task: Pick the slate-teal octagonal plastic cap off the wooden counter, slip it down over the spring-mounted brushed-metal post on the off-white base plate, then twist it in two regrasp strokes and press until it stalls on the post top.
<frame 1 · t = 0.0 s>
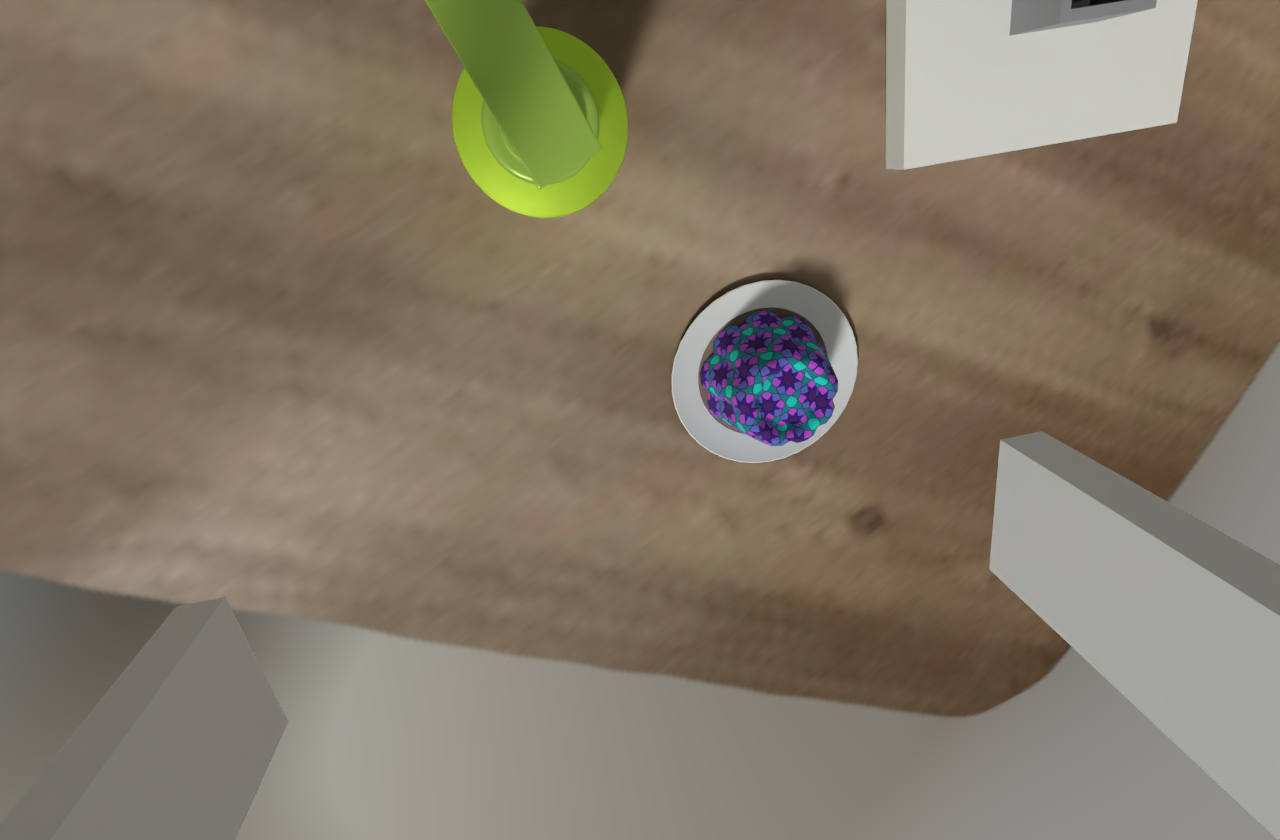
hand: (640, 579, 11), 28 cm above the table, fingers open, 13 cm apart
soap dispenser: (537, 126, 34), on the table
patterned brimmed hat: (761, 371, 41), on the table
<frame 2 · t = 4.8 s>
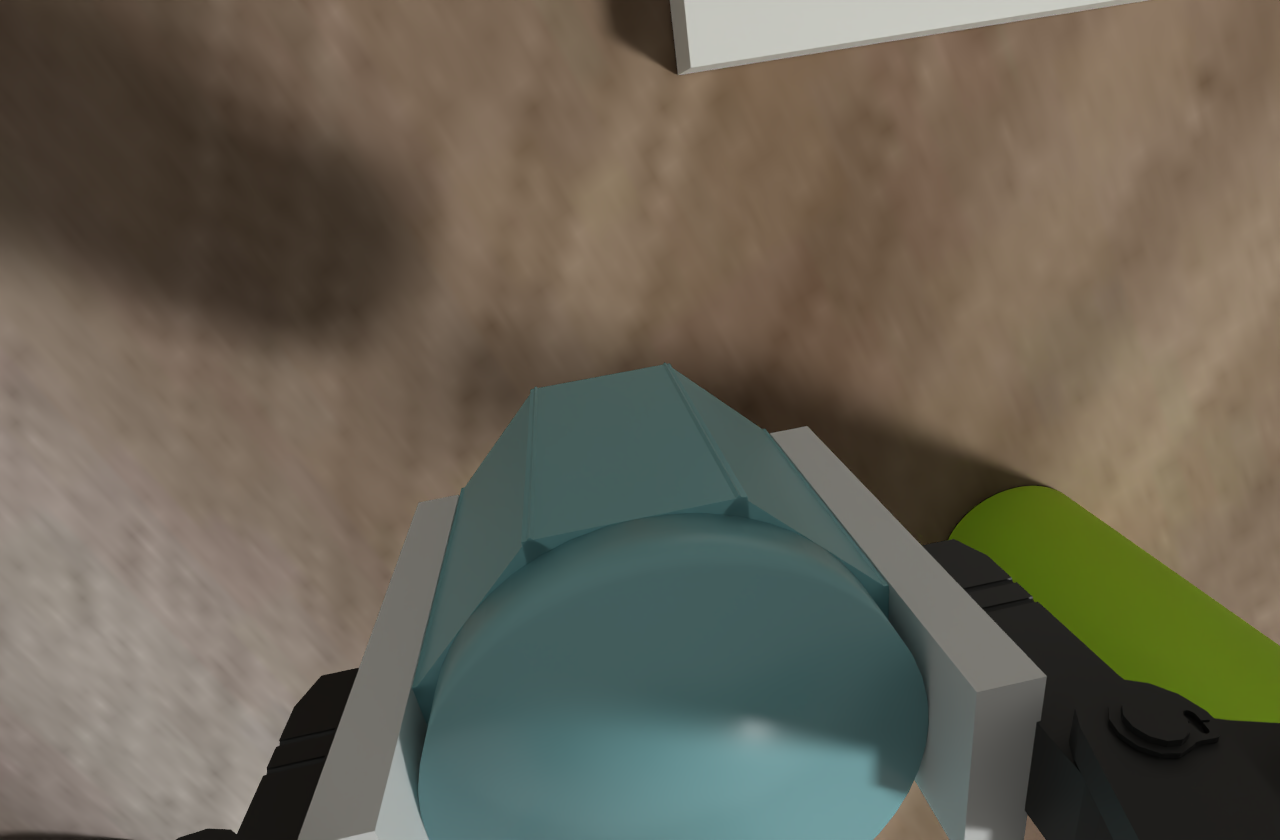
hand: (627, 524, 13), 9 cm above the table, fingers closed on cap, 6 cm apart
soap dispenser: (995, 551, 26), on the table
cap: (626, 514, 13), point 9 cm above the table, touching gripper
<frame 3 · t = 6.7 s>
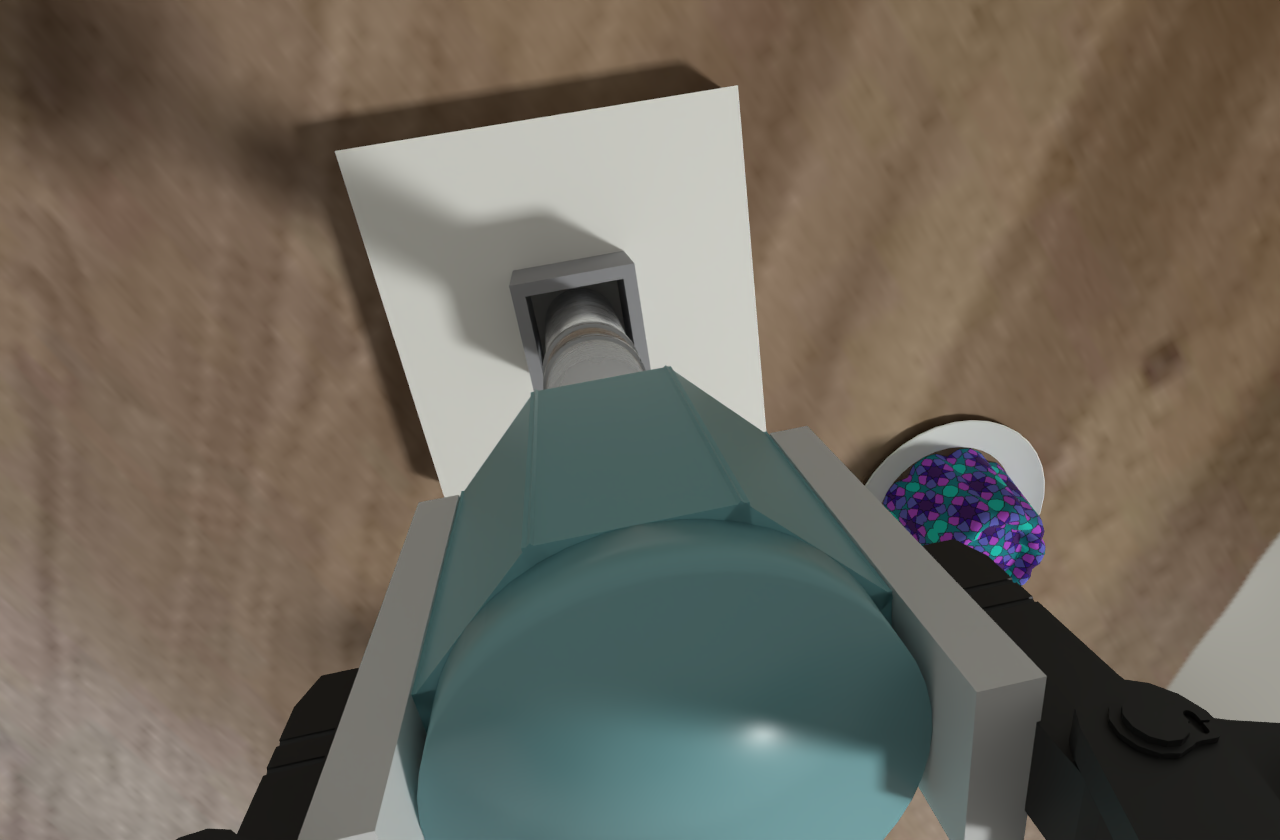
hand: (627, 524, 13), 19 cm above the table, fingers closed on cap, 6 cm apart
patterned brimmed hat: (939, 507, 38), on the table
post: (589, 357, 22), point 8 cm above the table, slide at 0.1 cm
post base: (576, 305, 30), on the table
cap: (626, 517, 13), point 19 cm above the table, touching gripper
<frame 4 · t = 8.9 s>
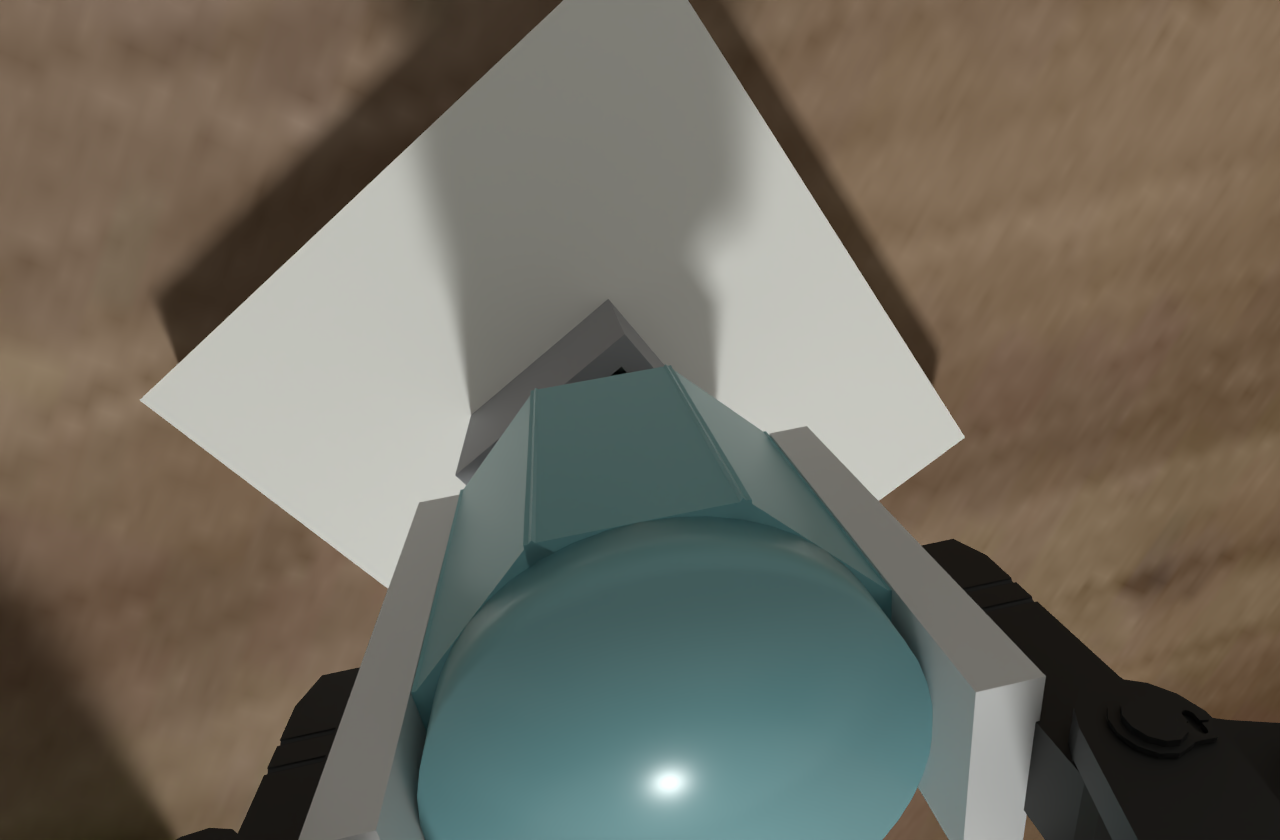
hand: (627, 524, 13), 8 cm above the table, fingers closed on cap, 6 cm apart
post: (618, 521, 13), point 7 cm above the table, slide at 1.3 cm, touching cap
post base: (592, 395, 20), on the table
cap: (625, 516, 13), point 7 cm above the table, touching gripper, post
when the fingers open (8 cm above the table, at t = 9.1 s): cap moves 1 cm, resting on post.
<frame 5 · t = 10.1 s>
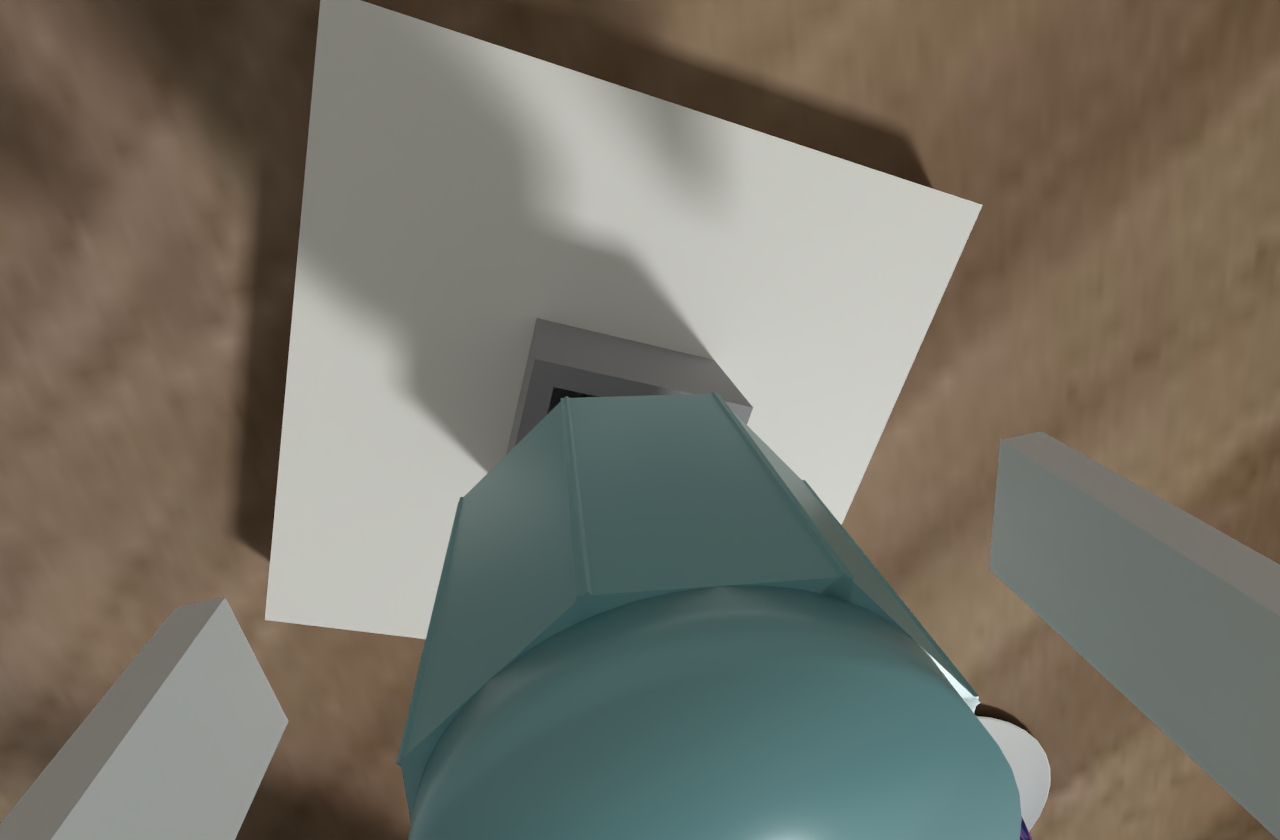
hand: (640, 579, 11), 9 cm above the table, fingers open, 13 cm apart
patterned brimmed hat: (912, 797, 29), on the table
post: (635, 558, 12), point 8 cm above the table, slide at 0.2 cm, touching cap
post base: (599, 397, 19), on the table
cap: (637, 551, 12), point 8 cm above the table, touching post
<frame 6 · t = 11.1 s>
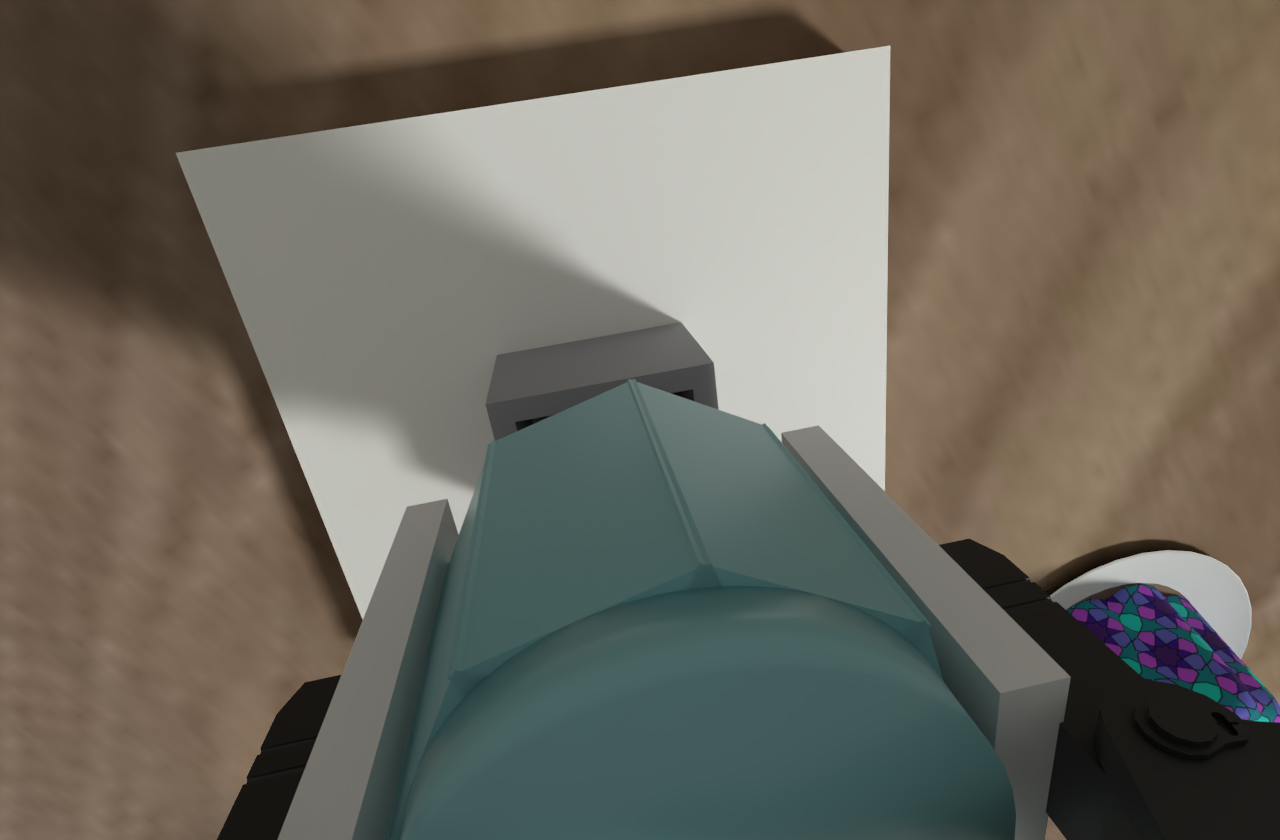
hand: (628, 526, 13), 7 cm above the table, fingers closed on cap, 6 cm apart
patterned brimmed hat: (1096, 656, 27), on the table
post base: (599, 397, 19), on the table
cap: (633, 550, 12), point 8 cm above the table, touching gripper, post
when the fingers open (6 cm above the table, at t = 11.9 s): cap stays where it is, resting on post.
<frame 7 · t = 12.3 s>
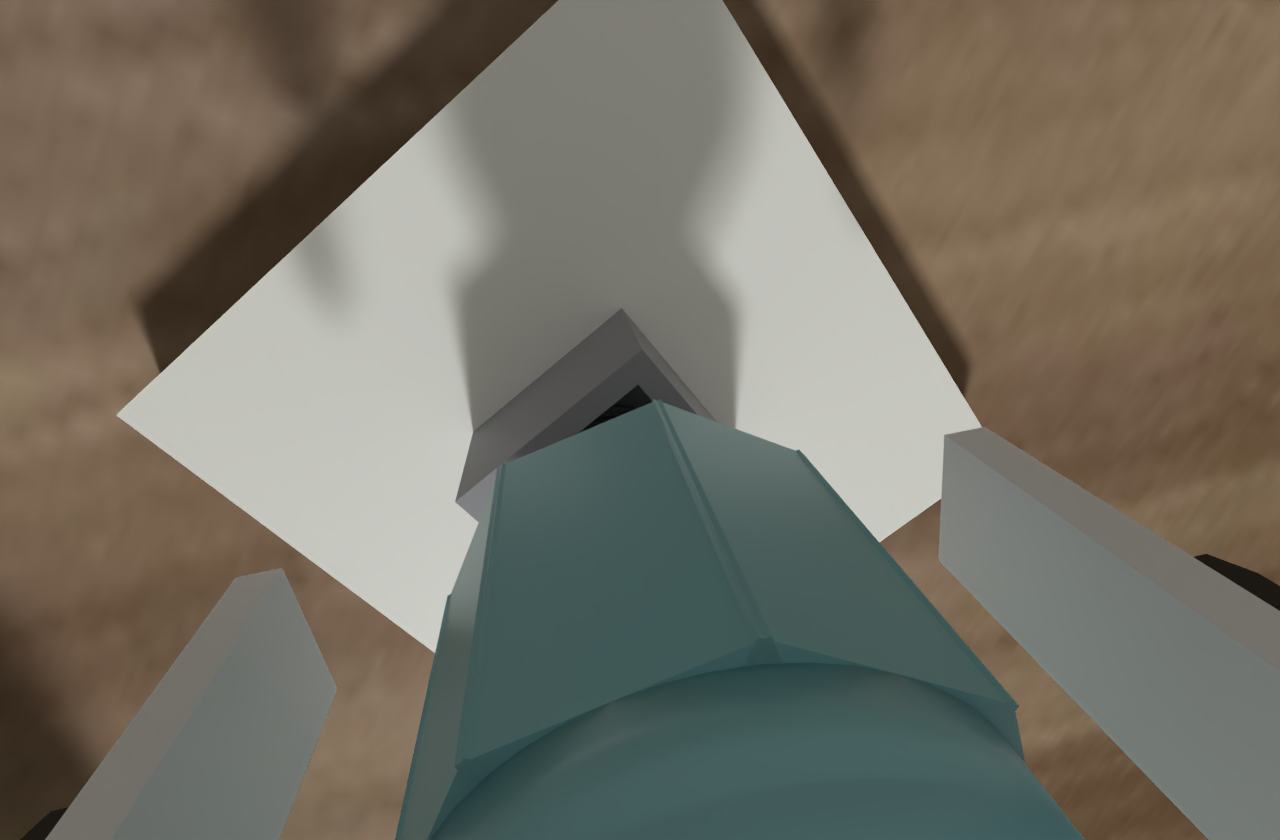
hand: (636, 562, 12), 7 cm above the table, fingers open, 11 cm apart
post: (643, 594, 11), point 8 cm above the table, slide at 0.2 cm, touching cap
post base: (602, 409, 18), on the table
cap: (651, 583, 11), point 8 cm above the table, touching post
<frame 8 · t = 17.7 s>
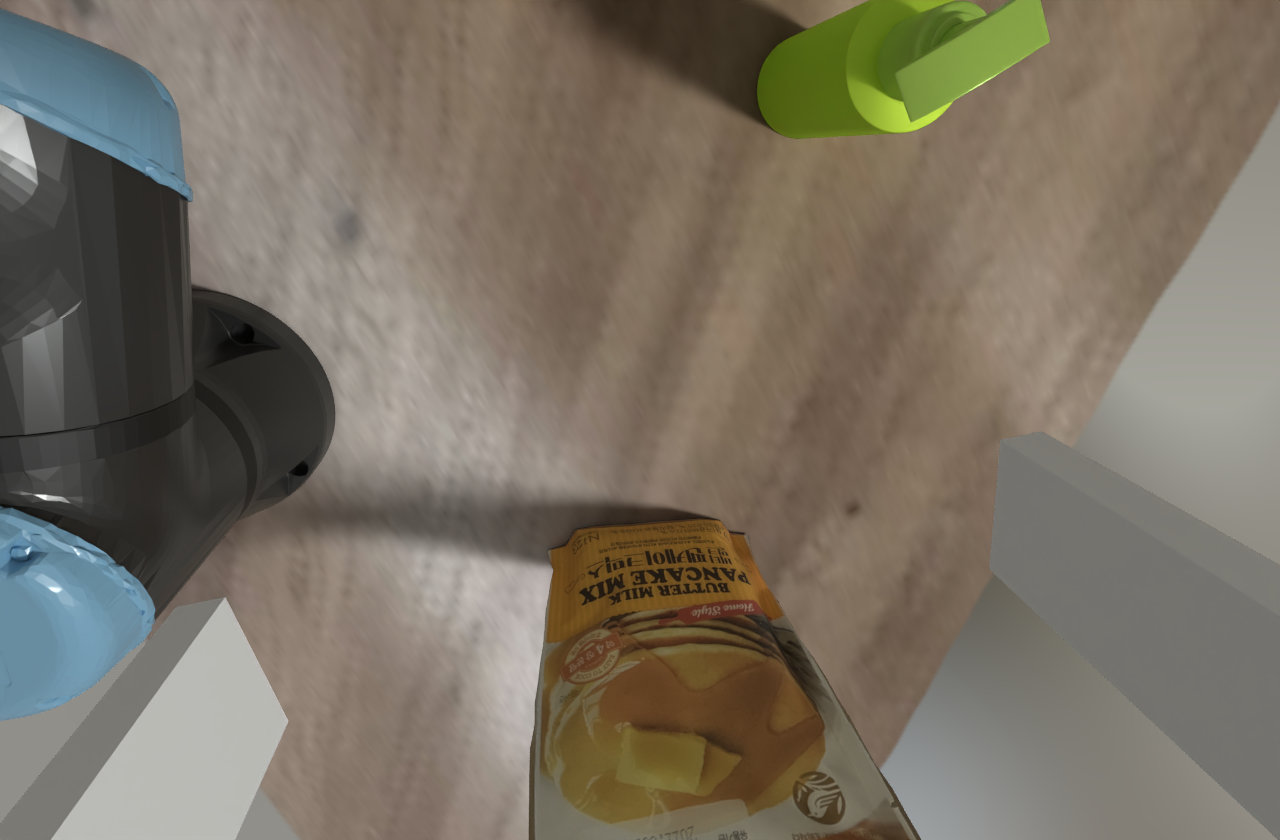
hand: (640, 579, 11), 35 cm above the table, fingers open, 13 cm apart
soap dispenser: (793, 92, 41), on the table
pancake mix bag: (649, 551, 53), on the table
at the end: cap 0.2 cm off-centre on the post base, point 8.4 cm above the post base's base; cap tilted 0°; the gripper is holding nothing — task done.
